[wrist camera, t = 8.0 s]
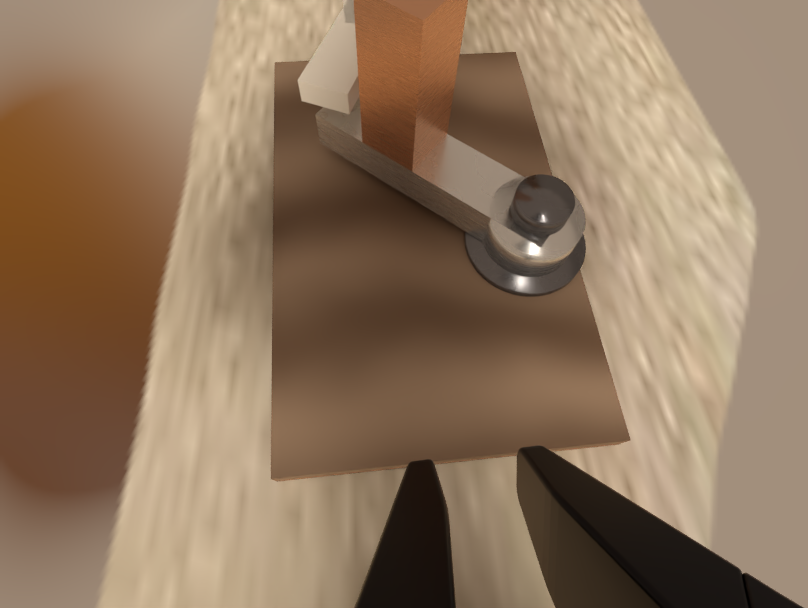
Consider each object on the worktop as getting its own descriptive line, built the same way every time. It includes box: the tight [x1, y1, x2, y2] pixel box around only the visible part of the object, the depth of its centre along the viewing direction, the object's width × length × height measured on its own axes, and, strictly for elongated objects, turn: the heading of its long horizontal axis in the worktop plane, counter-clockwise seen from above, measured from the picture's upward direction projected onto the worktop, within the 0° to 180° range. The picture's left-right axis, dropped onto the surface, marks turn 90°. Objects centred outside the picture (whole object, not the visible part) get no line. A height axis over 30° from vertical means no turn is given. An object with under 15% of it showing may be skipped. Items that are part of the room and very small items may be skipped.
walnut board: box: [271, 52, 630, 481], centre depth 25 cm, size 24×15×1 cm, turn 6°
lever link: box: [315, 0, 585, 277], centre depth 21 cm, size 4×14×10 cm, turn 54°
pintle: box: [464, 174, 586, 297], centre depth 22 cm, size 6×6×4 cm
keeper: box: [298, 0, 359, 114], centre depth 26 cm, size 8×5×4 cm
